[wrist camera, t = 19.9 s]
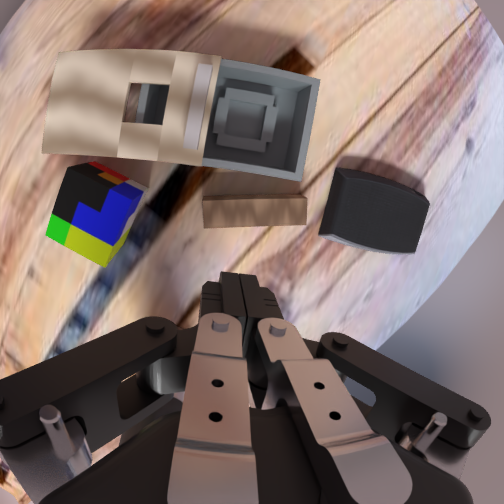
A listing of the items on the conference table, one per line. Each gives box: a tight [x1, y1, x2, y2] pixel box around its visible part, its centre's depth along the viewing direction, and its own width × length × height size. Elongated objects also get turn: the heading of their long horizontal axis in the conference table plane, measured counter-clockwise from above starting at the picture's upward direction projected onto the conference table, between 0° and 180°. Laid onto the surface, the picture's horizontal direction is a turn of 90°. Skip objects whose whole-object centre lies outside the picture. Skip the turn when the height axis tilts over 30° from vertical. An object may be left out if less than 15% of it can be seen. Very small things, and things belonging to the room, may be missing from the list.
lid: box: [42, 49, 222, 166], centre depth 31 cm, size 14×22×3 cm, turn 80°
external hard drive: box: [318, 168, 430, 255], centre depth 49 cm, size 13×19×4 cm
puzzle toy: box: [46, 161, 149, 267], centre depth 40 cm, size 10×10×10 cm
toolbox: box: [135, 59, 320, 182], centre depth 39 cm, size 14×22×8 cm, turn 80°
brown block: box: [203, 194, 307, 228], centre depth 46 cm, size 4×4×15 cm
